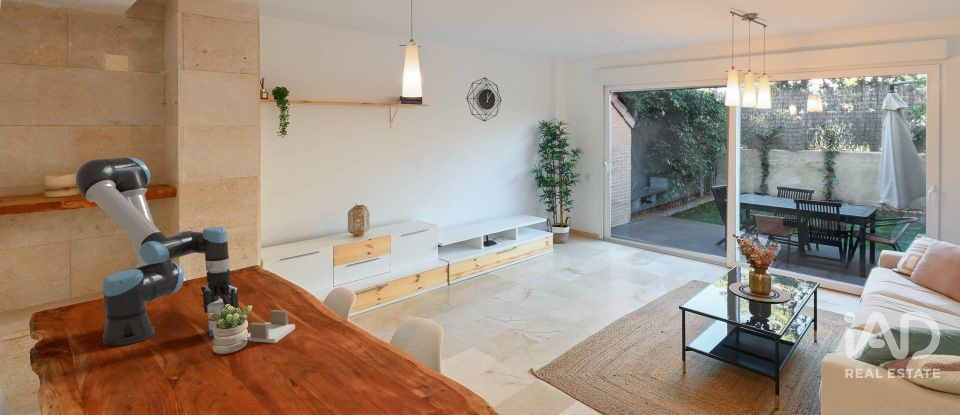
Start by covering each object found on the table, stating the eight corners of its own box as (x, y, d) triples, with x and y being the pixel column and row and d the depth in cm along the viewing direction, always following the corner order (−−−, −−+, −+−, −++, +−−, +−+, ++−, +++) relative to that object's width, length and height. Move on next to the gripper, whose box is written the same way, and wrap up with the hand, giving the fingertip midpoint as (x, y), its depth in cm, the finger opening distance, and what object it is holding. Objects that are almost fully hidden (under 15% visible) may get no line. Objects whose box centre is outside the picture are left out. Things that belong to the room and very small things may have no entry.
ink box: (221, 337, 178) (218, 306, 176) (209, 336, 179) (206, 305, 177) (237, 328, 186) (234, 298, 184) (225, 327, 187) (223, 297, 185)
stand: (243, 341, 175) (241, 323, 174) (266, 325, 188) (265, 309, 187) (274, 343, 173) (273, 326, 172) (295, 327, 186) (294, 311, 185)
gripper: (188, 271, 176) (194, 333, 180) (233, 274, 173) (238, 337, 177) (203, 266, 184) (208, 325, 187) (247, 268, 181) (251, 329, 184)
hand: (223, 331), depth 182 cm, fingers closed on ink box, 5 cm apart
